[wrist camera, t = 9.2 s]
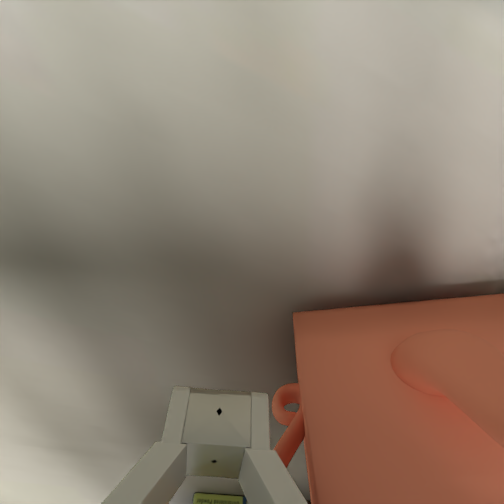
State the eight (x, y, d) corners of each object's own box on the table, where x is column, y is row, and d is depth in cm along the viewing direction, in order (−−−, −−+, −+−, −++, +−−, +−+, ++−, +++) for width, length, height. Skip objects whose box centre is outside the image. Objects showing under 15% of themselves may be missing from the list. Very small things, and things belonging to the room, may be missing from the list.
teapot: (271, 444, 20) (281, 671, 13) (230, 217, 11) (198, 527, 5) (486, 430, 19) (616, 664, 12) (613, 175, 11) (1265, 477, 4)
